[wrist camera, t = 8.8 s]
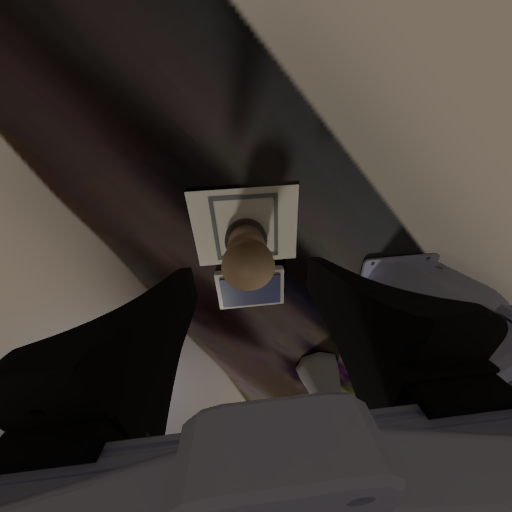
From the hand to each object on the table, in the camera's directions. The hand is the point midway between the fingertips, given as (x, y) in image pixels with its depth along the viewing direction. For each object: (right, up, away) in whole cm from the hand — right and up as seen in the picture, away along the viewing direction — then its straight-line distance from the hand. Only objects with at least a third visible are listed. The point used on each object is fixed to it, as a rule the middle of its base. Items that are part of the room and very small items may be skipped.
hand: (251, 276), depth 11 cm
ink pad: (0, -2, +12) cm, 12 cm away
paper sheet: (-1, +4, +8) cm, 9 cm away
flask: (+10, -17, +20) cm, 28 cm away
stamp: (-1, +3, +8) cm, 9 cm away
